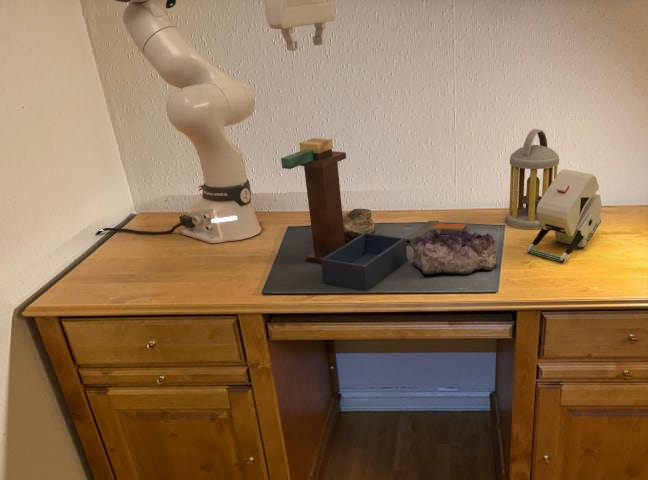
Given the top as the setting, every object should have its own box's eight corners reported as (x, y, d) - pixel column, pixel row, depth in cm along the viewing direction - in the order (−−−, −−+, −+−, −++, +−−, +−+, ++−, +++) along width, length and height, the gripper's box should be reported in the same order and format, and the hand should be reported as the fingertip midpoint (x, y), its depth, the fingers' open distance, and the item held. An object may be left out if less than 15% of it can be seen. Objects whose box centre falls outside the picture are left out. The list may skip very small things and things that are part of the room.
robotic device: (538, 274, 171) (514, 225, 156) (578, 212, 176) (559, 158, 161) (572, 285, 165) (551, 234, 150) (613, 220, 170) (597, 165, 154)
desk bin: (323, 282, 151) (320, 259, 148) (366, 254, 167) (365, 232, 164) (366, 290, 147) (364, 266, 144) (407, 260, 162) (406, 238, 159)
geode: (490, 256, 164) (494, 219, 157) (499, 279, 154) (503, 241, 148) (409, 258, 161) (409, 220, 155) (413, 282, 152) (414, 243, 146)
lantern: (521, 210, 194) (525, 122, 182) (565, 218, 187) (572, 127, 175) (496, 223, 185) (499, 131, 172) (541, 232, 177) (547, 137, 165)
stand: (306, 261, 163) (293, 159, 151) (328, 247, 171) (317, 149, 159) (333, 265, 160) (322, 162, 148) (354, 252, 168) (345, 152, 156)
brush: (295, 169, 142) (293, 153, 140) (276, 167, 144) (274, 151, 142) (333, 154, 154) (332, 139, 152) (315, 152, 156) (314, 137, 154)
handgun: (447, 249, 168) (405, 244, 172) (468, 230, 180) (428, 225, 185) (447, 243, 167) (404, 238, 171) (468, 223, 180) (427, 219, 184)
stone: (371, 236, 168) (345, 205, 167) (345, 260, 173) (320, 230, 171) (389, 224, 180) (365, 195, 178) (365, 247, 184) (341, 219, 183)
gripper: (316, -27, 149) (321, 41, 156) (256, -22, 133) (265, 52, 141) (339, -26, 146) (343, 43, 154) (280, -21, 131) (288, 54, 139)
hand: (305, 47), depth 147 cm, fingers open, 8 cm apart
